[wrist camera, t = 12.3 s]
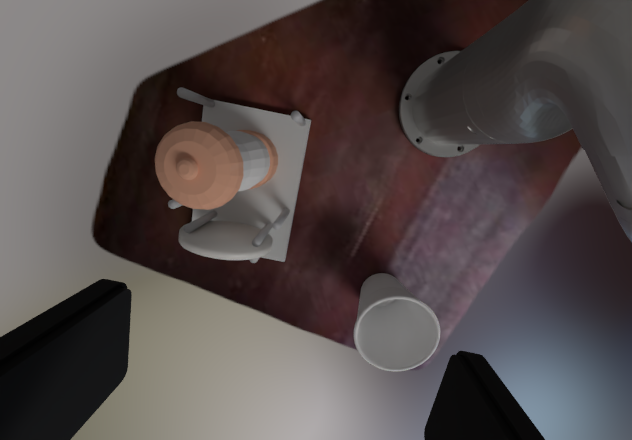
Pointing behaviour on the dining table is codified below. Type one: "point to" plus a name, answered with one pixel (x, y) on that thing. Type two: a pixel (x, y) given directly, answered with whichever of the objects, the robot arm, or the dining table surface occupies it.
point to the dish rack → (252, 204)
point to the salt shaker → (212, 163)
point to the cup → (394, 325)
